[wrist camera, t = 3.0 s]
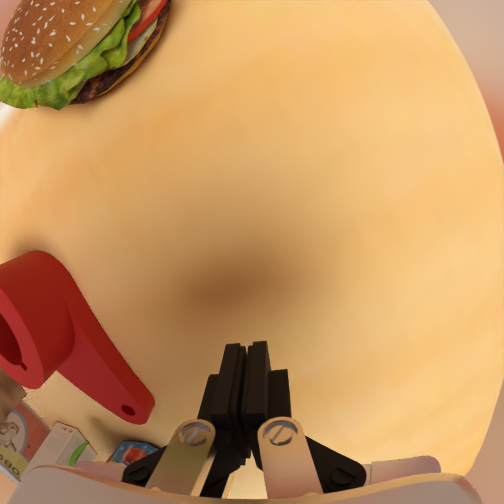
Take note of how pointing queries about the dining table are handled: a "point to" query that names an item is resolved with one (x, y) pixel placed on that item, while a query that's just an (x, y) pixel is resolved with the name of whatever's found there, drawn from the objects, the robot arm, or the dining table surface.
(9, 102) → the food
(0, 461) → the canned food
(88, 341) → the lever
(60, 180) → the dining table surface
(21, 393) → the walnut board
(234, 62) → the dining table surface
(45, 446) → the skincare box
